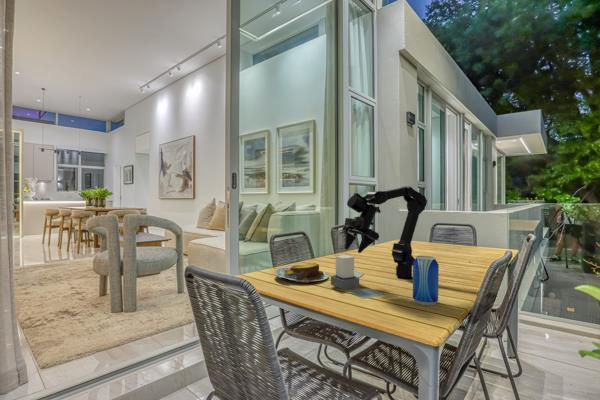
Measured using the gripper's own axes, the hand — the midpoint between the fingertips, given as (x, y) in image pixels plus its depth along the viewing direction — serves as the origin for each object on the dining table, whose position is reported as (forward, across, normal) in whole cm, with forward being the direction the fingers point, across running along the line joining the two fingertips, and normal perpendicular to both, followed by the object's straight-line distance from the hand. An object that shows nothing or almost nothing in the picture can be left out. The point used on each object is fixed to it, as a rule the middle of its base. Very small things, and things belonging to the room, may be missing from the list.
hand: (352, 250), depth 133 cm
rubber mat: (+14, +12, +5) cm, 19 cm away
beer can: (+8, +29, +16) cm, 34 cm away
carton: (+15, 0, +3) cm, 15 cm away
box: (+14, 0, +3) cm, 15 cm away
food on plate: (+20, -20, -6) cm, 29 cm away
